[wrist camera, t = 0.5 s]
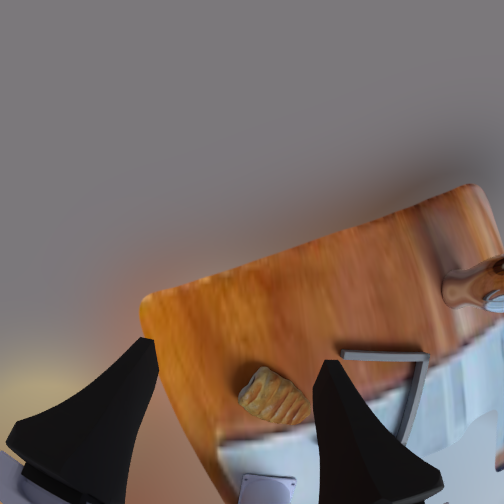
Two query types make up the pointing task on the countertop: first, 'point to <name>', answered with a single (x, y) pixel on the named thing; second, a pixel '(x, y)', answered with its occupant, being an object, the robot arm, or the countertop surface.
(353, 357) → the tray slot
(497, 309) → the beer glass
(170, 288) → the countertop surface
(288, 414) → the pastry
